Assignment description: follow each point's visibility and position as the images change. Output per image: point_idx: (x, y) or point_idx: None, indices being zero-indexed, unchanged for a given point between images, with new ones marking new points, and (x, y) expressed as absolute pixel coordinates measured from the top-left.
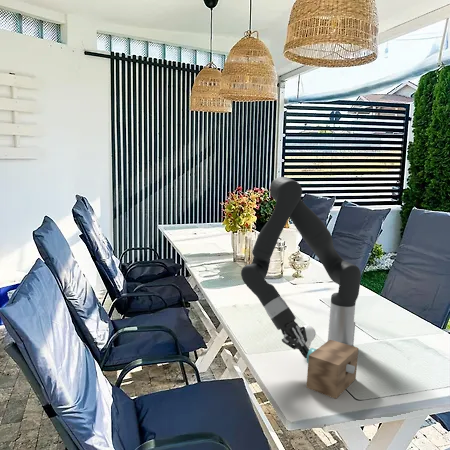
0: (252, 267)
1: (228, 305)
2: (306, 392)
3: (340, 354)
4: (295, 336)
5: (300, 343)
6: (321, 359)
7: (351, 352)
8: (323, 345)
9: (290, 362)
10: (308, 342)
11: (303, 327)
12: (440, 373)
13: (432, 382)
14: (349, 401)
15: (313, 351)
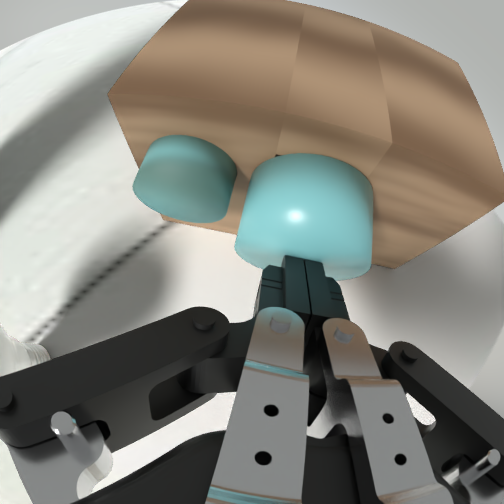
0: None
1: None
2: (422, 258)
3: (351, 33)
4: (405, 445)
5: (369, 351)
6: (486, 123)
7: (281, 1)
8: (283, 104)
9: (180, 426)
10: (13, 345)
11: (4, 407)
12: (101, 15)
13: (147, 12)
14: None
15: (354, 203)
